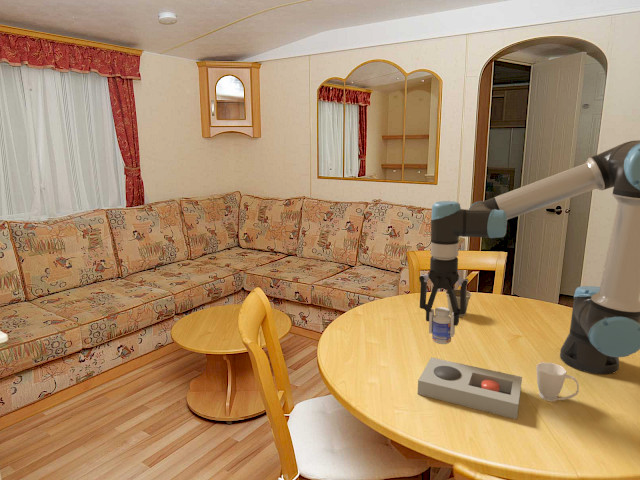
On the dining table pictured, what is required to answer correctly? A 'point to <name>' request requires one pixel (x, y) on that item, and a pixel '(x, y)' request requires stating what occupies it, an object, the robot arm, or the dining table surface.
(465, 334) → the dining table surface
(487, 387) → the breaker button
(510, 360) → the dining table surface
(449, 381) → the grey recessed tray
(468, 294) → the flower pot
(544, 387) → the cup
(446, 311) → the pill bottle
